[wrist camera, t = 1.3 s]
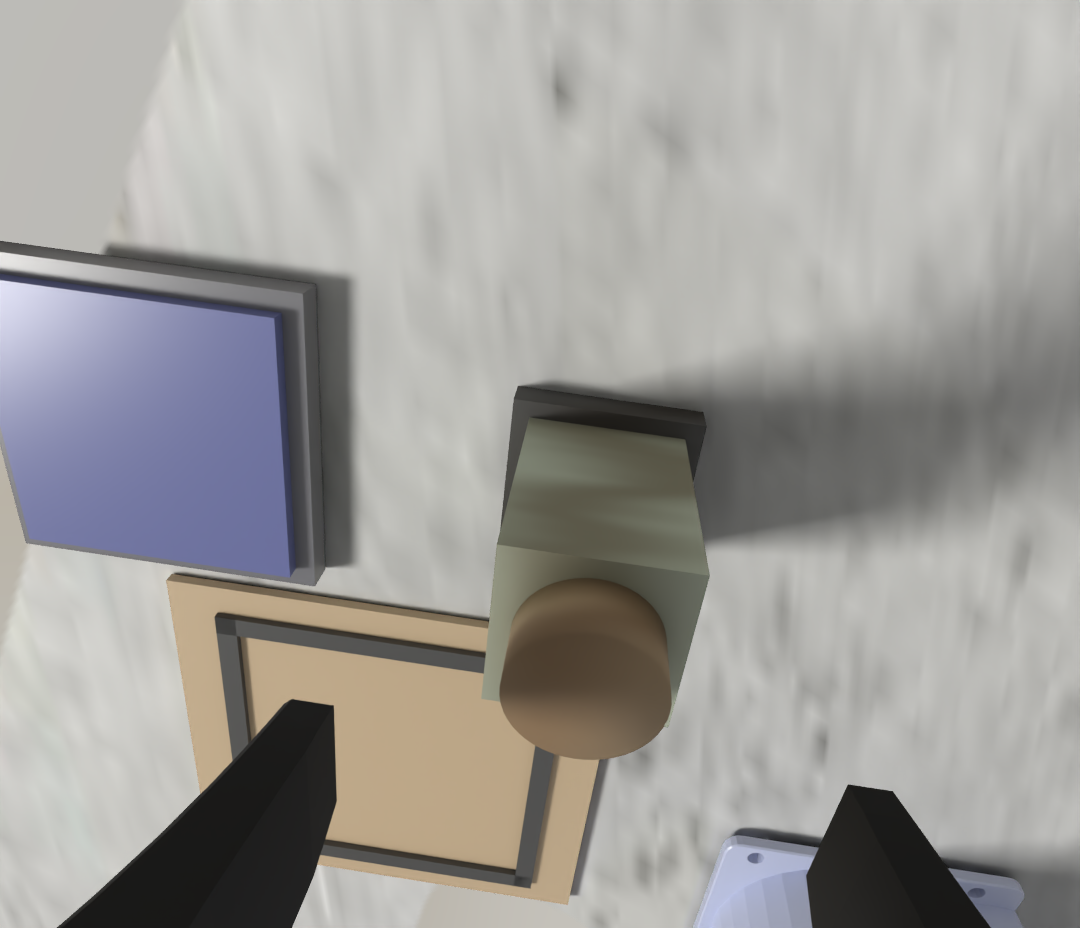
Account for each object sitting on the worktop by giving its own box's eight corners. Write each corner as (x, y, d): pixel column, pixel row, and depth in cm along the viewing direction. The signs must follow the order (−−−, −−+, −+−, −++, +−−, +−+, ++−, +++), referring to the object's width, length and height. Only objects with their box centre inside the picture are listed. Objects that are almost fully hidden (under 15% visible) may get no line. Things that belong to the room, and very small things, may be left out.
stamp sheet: (623, 641, 21) (623, 653, 20) (568, 896, 27) (567, 910, 26) (171, 573, 21) (162, 584, 21) (213, 839, 27) (206, 852, 27)
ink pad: (315, 283, 17) (295, 298, 16) (325, 568, 21) (309, 595, 20) (-26, 237, 17) (-68, 248, 16) (46, 527, 21) (15, 551, 20)
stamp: (702, 411, 18) (752, 614, 11) (667, 563, 20) (691, 809, 13) (518, 385, 18) (459, 570, 11) (502, 539, 20) (444, 770, 13)
